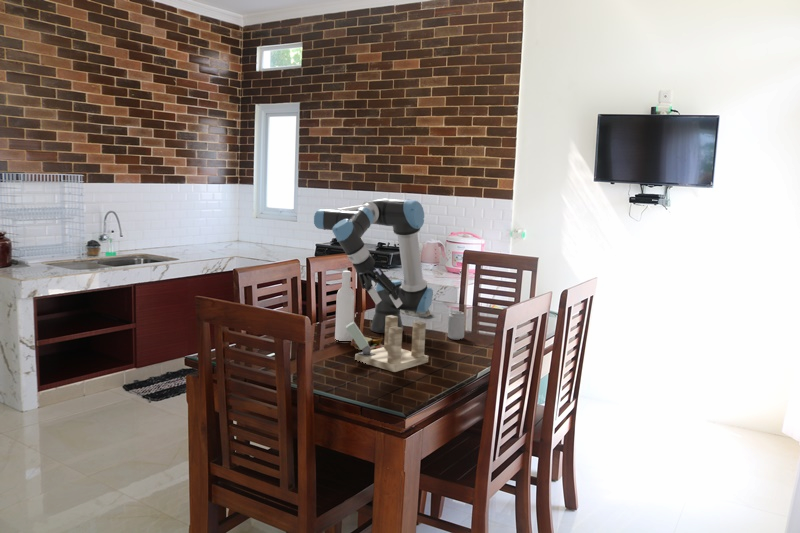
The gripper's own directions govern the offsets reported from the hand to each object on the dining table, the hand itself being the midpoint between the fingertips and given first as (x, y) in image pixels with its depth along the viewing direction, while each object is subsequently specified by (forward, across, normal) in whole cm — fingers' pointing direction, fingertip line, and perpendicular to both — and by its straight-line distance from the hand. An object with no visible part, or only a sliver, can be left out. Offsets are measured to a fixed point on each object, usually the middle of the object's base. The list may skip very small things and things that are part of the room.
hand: (389, 304), depth 240 cm
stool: (+21, -3, -10) cm, 23 cm away
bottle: (+18, -40, -8) cm, 44 cm away
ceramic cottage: (+53, -73, +46) cm, 101 cm away
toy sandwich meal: (+21, -24, -8) cm, 33 cm away
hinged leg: (+13, -8, -14) cm, 21 cm away
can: (+47, -22, +30) cm, 60 cm away
